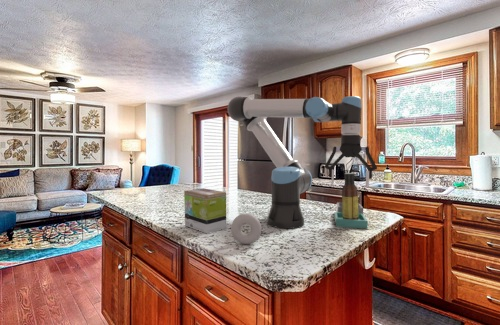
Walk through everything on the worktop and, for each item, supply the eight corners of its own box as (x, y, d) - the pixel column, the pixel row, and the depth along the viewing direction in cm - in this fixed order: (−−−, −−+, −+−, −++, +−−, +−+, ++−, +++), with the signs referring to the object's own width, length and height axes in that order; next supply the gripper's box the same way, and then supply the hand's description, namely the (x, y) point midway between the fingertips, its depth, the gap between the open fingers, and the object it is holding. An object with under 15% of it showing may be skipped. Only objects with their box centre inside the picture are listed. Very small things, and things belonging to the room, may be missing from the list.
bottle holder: (337, 217, 119) (337, 206, 119) (336, 212, 129) (336, 202, 129) (363, 219, 116) (363, 208, 116) (359, 213, 127) (359, 203, 126)
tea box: (183, 226, 106) (183, 190, 105) (203, 221, 113) (203, 187, 113) (206, 234, 96) (206, 194, 95) (227, 228, 103) (227, 191, 102)
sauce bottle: (355, 218, 113) (356, 172, 112) (360, 222, 106) (361, 173, 106) (340, 218, 113) (340, 172, 112) (343, 222, 107) (344, 173, 106)
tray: (336, 226, 105) (336, 219, 105) (334, 218, 117) (334, 212, 117) (367, 228, 102) (367, 221, 102) (362, 220, 114) (362, 213, 114)
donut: (230, 245, 84) (230, 214, 84) (231, 241, 87) (231, 212, 87) (261, 246, 83) (261, 215, 83) (261, 242, 87) (261, 212, 86)
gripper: (319, 134, 108) (318, 185, 109) (386, 134, 101) (384, 188, 102) (319, 135, 115) (318, 183, 116) (381, 135, 109) (380, 186, 110)
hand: (349, 186), depth 109 cm, fingers open, 13 cm apart
